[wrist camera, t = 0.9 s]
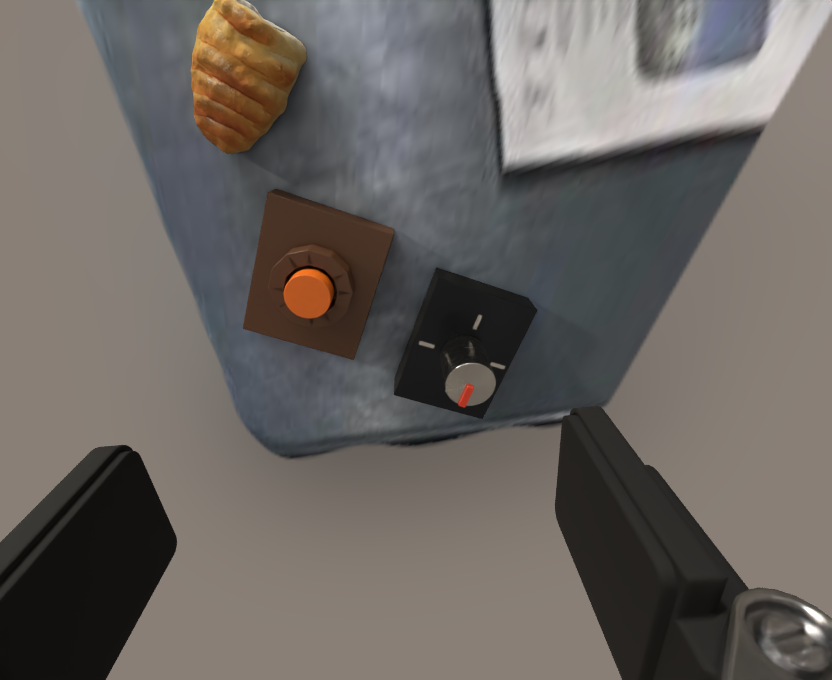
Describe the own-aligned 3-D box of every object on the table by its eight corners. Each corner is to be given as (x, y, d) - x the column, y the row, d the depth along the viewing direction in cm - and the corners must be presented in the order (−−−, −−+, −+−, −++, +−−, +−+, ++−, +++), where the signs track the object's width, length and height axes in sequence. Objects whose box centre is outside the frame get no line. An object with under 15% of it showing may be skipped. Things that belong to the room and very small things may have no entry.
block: (275, 188, 34) (260, 195, 31) (394, 228, 36) (393, 240, 32) (250, 318, 39) (235, 337, 36) (356, 348, 41) (351, 370, 37)
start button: (294, 262, 33) (288, 268, 32) (339, 276, 34) (336, 283, 32) (284, 302, 35) (279, 311, 33) (328, 315, 35) (324, 324, 34)
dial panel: (436, 267, 38) (438, 278, 35) (528, 297, 39) (538, 311, 36) (394, 378, 42) (393, 396, 40) (477, 401, 44) (482, 420, 41)
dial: (449, 329, 37) (456, 358, 32) (492, 342, 38) (505, 373, 33) (433, 367, 39) (438, 401, 34) (474, 379, 39) (484, 413, 34)
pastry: (266, 170, 34) (250, 174, 30) (181, 122, 32) (154, 121, 29) (315, 46, 30) (303, 35, 27) (222, -15, 29) (196, -35, 25)
